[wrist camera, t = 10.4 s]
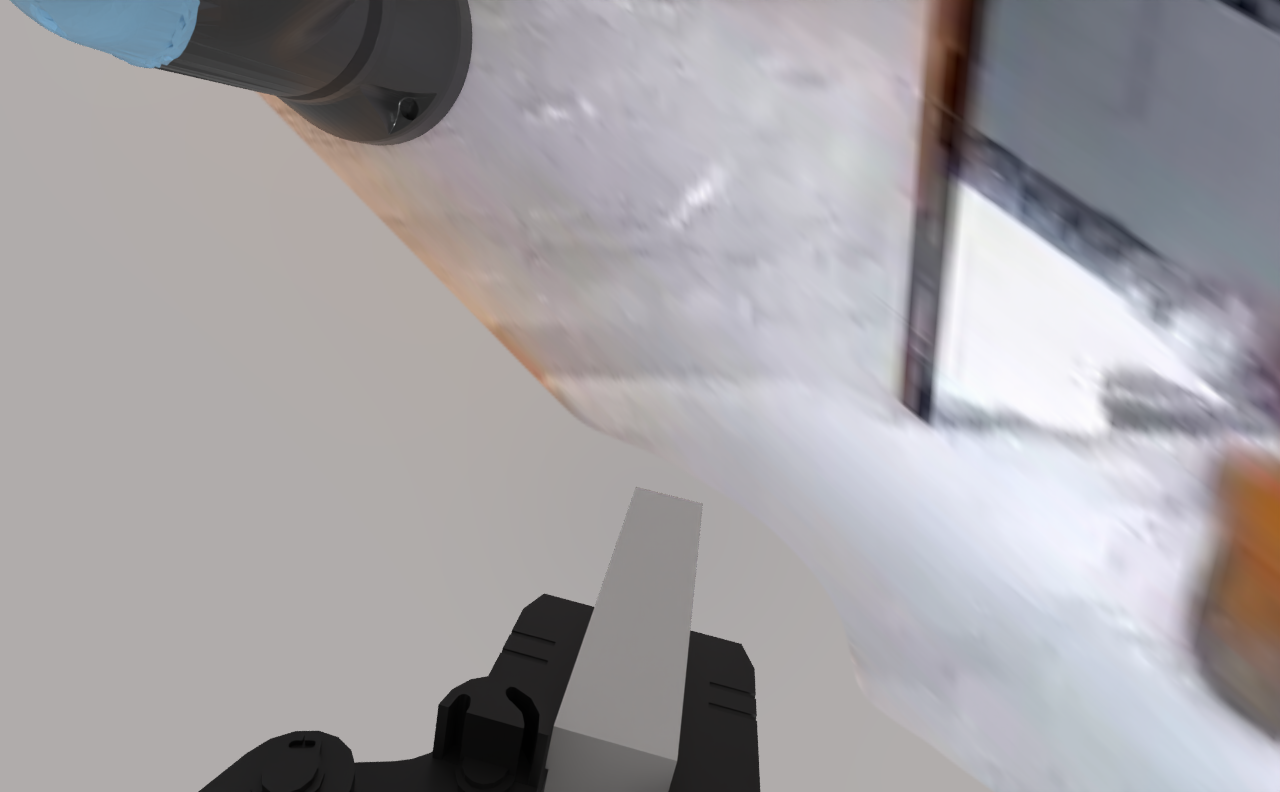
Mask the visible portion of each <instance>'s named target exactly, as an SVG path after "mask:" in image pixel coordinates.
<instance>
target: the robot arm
mask: <svg viewBox="0 0 1280 792" xmlns="http://www.w3.org/2000/svg"><path fill="white" fill-rule="evenodd" d="M10 1H11V2H12V3H13V4H15V6H17V7H18V8H19V9H20V10H21V11H22V12H24V13H25V14H26V15H27V16H29V17H30V18H31V19H33V20H34V21H35V22H37V23H38V24H40V25H41V26H43V27H45V28H46V29H48V30H49V31H51V32H53V33H55V34H57V35H59V36H60V37H62V38H65V39H67V40H69V41H72V42H75V43H77V44H80V45H84V46H87V47H90V48H93V49H96V50H100V51H103V52H106V53H109V54H112V55H113V56H115V57H117V58H119V59H121V60H124V61H126V62H128V63H129V64H131V65H135V66H139V67H144V68H157V69H161V70H165V71H169V72H174V73H179V74H183V75H187V76H192V77H196V78H201V79H204V80H209V81H213V82H218V83H222V84H226V85H231V86H235V87H240V88H244V89H248V90H253V91H257V92H261V93H266V94H270V95H275V96H277V97H278V98H279V99H281V100H282V101H283V102H284V103H286V104H287V105H288V106H289V107H291V108H292V109H293V110H294V111H296V112H297V113H298V114H299V115H301V116H302V117H303V118H304V119H306V120H307V121H308V122H310V123H311V124H313V125H314V126H316V127H318V128H319V129H321V130H323V131H325V132H327V133H329V134H332V135H334V136H336V137H339V138H342V139H345V140H349V141H354V142H359V143H365V144H371V145H394V144H399V143H403V142H407V141H410V140H412V139H415V138H417V137H419V136H421V135H422V134H424V133H426V132H427V131H429V130H430V129H432V128H433V127H434V126H435V125H436V124H438V123H439V122H440V121H441V120H442V119H443V117H444V116H445V115H446V114H447V113H448V111H449V110H450V109H451V107H452V106H453V104H454V103H455V101H456V99H457V98H458V96H459V94H460V92H461V89H462V87H463V85H464V82H465V79H466V76H467V72H468V69H469V64H470V58H471V50H472V24H471V15H470V10H469V5H468V1H467V0H10ZM702 506H703V504H702V503H698V502H694V501H690V500H686V499H682V498H678V497H674V496H670V495H666V494H662V493H658V492H654V491H650V490H646V489H642V488H638V487H636V488H635V491H634V494H633V497H632V500H631V503H630V506H629V509H628V511H627V514H626V518H625V520H624V523H623V526H622V529H621V532H620V535H619V538H618V541H617V543H616V546H615V549H614V552H613V555H612V558H611V561H610V564H609V567H608V570H607V573H606V575H605V579H604V581H603V584H602V587H601V590H600V593H599V596H598V599H597V602H596V604H595V607H592V606H589V605H585V604H581V603H577V602H574V601H570V600H566V599H562V598H559V597H554V596H551V595H547V594H543V595H542V596H540V597H539V598H537V599H536V600H535V601H533V602H532V603H531V604H529V605H528V606H527V607H525V608H524V609H523V610H522V612H521V615H520V616H519V618H518V620H517V622H516V624H515V626H514V628H513V630H512V633H511V635H510V636H509V637H508V640H507V641H506V643H505V645H504V647H503V650H502V653H500V655H499V657H498V659H497V660H496V662H495V664H494V666H493V668H492V670H491V672H490V674H489V676H487V677H482V678H476V679H471V680H469V681H467V682H465V683H463V684H461V685H459V686H458V687H456V688H454V689H452V690H451V691H450V692H449V694H448V695H447V696H446V697H445V698H444V699H443V700H442V701H441V702H440V704H439V706H438V715H437V723H436V731H435V740H434V747H433V752H431V753H429V754H426V755H423V756H420V757H417V758H414V759H410V760H402V761H391V762H358V763H354V759H353V755H352V751H351V750H350V749H349V748H348V747H347V746H346V745H345V744H344V743H343V742H342V741H341V740H340V739H339V738H338V737H336V736H332V735H330V734H327V733H324V732H321V731H295V732H291V733H288V734H285V735H282V736H278V737H275V738H272V739H270V740H268V741H266V742H264V743H263V744H261V745H259V746H258V747H256V748H255V749H253V750H251V751H250V752H248V753H247V754H245V755H244V756H243V757H241V758H240V759H239V760H238V761H236V762H235V763H234V764H233V765H232V766H230V767H229V768H228V769H226V770H225V771H224V772H223V773H221V774H220V775H219V776H218V777H216V778H215V779H214V780H213V781H211V782H210V783H209V784H208V785H206V786H205V787H204V788H203V789H201V790H200V791H199V792H760V777H759V756H758V735H757V721H756V716H757V714H756V699H755V672H754V667H753V665H752V663H751V661H750V660H749V658H748V656H747V654H746V652H745V650H744V648H743V646H742V644H739V643H735V642H732V641H728V640H724V639H720V638H717V637H713V636H709V635H705V634H702V633H698V632H694V631H690V626H691V617H692V607H693V597H694V587H695V577H696V567H697V557H698V546H699V536H700V526H701V516H702Z"/></svg>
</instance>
